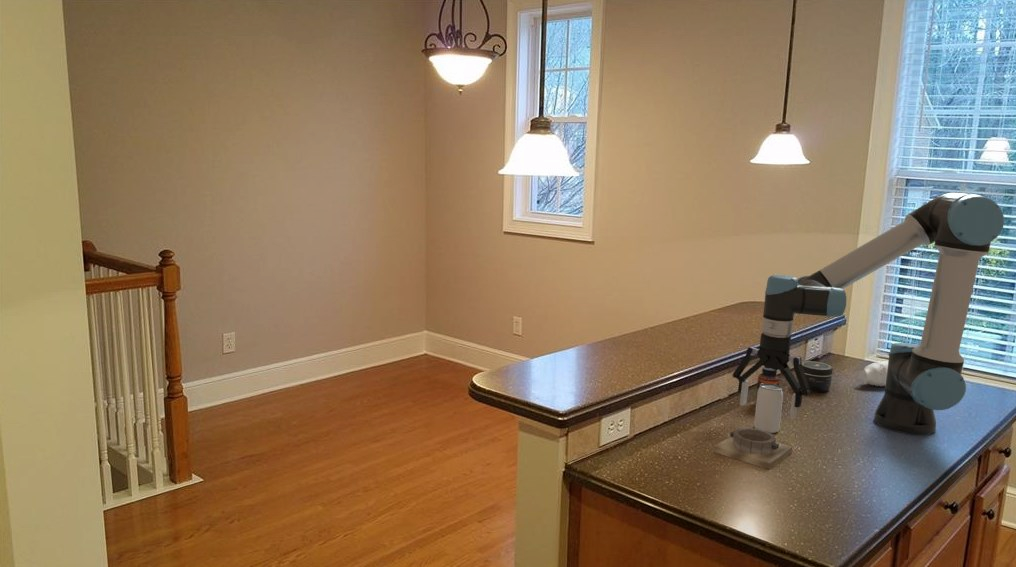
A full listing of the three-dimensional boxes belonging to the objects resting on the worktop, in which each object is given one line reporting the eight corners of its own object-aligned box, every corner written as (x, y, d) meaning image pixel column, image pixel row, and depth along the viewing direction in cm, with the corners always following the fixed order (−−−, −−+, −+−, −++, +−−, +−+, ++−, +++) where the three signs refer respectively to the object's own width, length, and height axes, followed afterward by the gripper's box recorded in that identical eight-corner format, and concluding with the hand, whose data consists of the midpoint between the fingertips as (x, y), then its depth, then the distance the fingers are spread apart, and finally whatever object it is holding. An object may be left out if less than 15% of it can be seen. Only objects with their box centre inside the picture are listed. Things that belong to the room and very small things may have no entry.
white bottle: (850, 384, 242) (853, 360, 240) (894, 379, 248) (897, 356, 247) (870, 391, 234) (873, 367, 233) (914, 386, 241) (917, 363, 239)
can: (749, 424, 201) (754, 382, 199) (772, 424, 202) (777, 382, 199) (759, 433, 195) (764, 390, 193) (783, 433, 195) (788, 390, 193)
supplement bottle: (778, 409, 214) (782, 372, 212) (756, 407, 215) (760, 370, 213) (775, 402, 220) (778, 366, 218) (754, 401, 221) (757, 364, 219)
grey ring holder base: (791, 452, 183) (793, 435, 182) (769, 469, 173) (771, 451, 172) (738, 436, 192) (739, 420, 191) (713, 452, 182) (715, 434, 181)
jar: (831, 386, 238) (833, 363, 237) (830, 395, 229) (832, 371, 228) (797, 381, 242) (800, 358, 241) (795, 389, 233) (798, 366, 232)
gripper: (725, 327, 199) (717, 402, 203) (819, 346, 183) (809, 427, 186) (737, 323, 204) (729, 396, 208) (829, 341, 188) (819, 420, 192)
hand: (767, 411), depth 197 cm, fingers open, 13 cm apart
